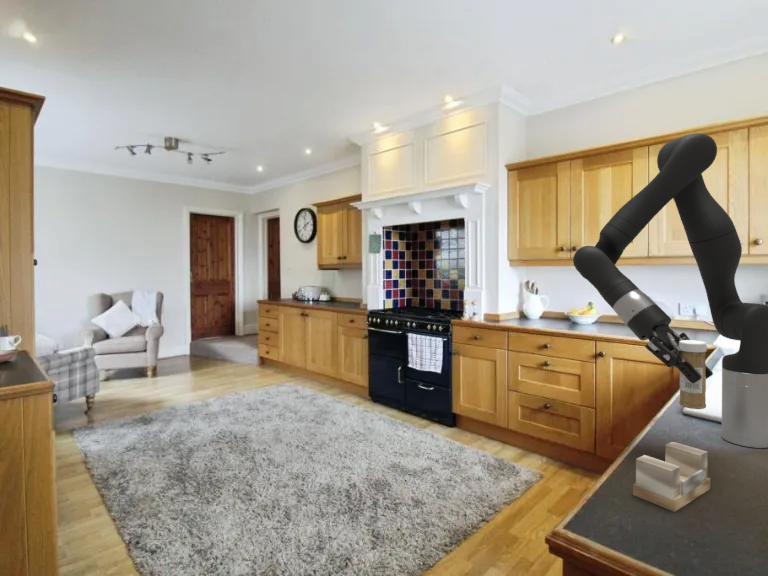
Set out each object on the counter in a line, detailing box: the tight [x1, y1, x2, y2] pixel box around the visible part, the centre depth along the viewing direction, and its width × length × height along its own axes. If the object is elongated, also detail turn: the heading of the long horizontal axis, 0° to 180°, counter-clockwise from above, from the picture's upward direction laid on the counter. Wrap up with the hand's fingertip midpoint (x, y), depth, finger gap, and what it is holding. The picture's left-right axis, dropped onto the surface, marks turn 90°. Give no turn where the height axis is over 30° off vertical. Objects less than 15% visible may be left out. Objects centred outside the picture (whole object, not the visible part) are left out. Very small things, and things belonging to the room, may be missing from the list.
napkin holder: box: [632, 441, 711, 513], centre depth 81 cm, size 14×7×7 cm, turn 122°
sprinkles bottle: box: [678, 339, 708, 410], centre depth 88 cm, size 5×5×14 cm
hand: (703, 378), depth 86 cm, fingers closed on sprinkles bottle, 4 cm apart
